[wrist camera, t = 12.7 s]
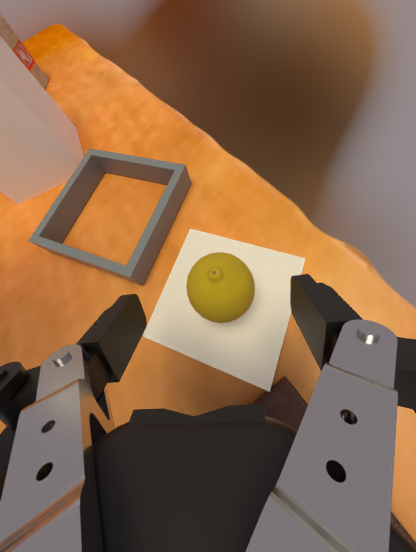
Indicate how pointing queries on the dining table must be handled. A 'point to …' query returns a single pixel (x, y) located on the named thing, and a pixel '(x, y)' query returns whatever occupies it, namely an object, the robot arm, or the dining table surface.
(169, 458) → the robot arm
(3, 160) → the milk
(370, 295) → the dining table surface
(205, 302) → the lemon
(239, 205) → the dining table surface
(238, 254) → the board
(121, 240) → the dining table surface
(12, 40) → the stack of blocks
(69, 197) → the grey square frame
